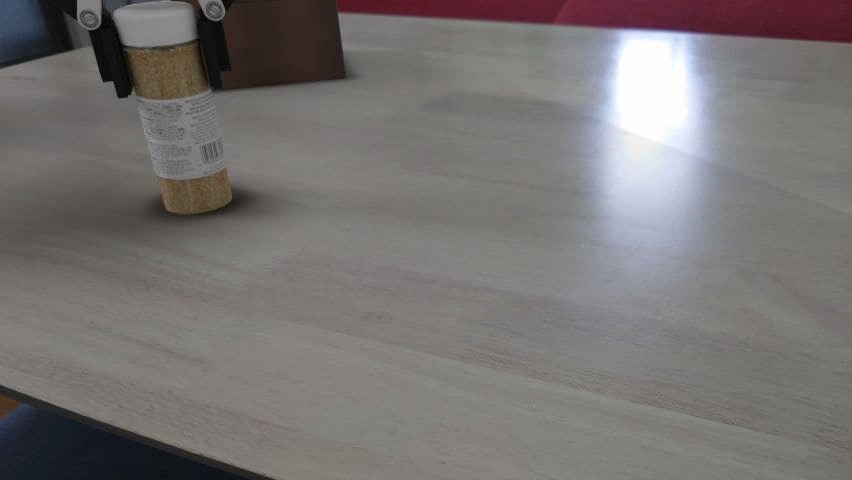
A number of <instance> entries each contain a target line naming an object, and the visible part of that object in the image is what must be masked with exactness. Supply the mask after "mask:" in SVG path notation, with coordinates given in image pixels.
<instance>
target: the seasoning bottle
mask: <svg viewBox="0 0 852 480" xmlns="http://www.w3.org/2000/svg"><path fill="white" fill-rule="evenodd" d="M112 19H113V20H114V23H115V27H116V31H117V35H118V39H119V42H120V43H121V44H123V45H124V51H125V52H126V56H127V60H128V64H129V68H130V72H131V75H132V80H133V84H134V86H133V89H134V93H135V100H136V101H135V102H136V104H137V108H138V112H139V116H140V118H141V125H142V128H143V133H144V136H145V140H146V145H147V147H148V151H149V155H150V158H151V159H150V160H151V162H152V167H153V170H154V173H155V175H156V177H157V180H158V185H159V189H160V192H161V197H162V201H163V204H164V208H165V210H166V211H168V212H170V213H174V214H177V215H178V214H179V215H195V214H203V213H207V212H211V211H215V210H217V209H220V208H223V207H226V205H228V204H230V203H231V202H232V200H233V194H232V189H231V186H230V181H229V176H228V175H229V174H228V170H227V159H226V153H225V148H224V143H223V139H222V134H221V129H220V124H219V119H218V114H217V110H216V106H215V102H214V97H213V91H211V87H210V86H209V84H208V78H207V74H206V71H205V66H204V61H203V57H202V52H201V47H200V43H201V40H200V39H199V38H198V37H199V36H200V35H199V30H198V25H197V22H198V19H197V15H196V11H195V8H194V6H193V5H191V4H189V3H186V2H179V1H161V0H160V1H159V0H158V1H157V0H156V1H147V2H138V3H133V4H128V5H123V6H121V7H118V8H116V9H115V10H114V11H113V13H112Z"/></svg>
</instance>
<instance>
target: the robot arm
mask: <svg viewBox="0 0 852 480" xmlns="http://www.w3.org/2000/svg"><path fill="white" fill-rule="evenodd" d="M47 1H48V2H49V3H50V4H52V5H54V6H55V7H56V8H58V10H60V11H62V12H64V13H65V14H66V15H68V17H71V18H72V19H73V20H75V21H77V22H78V24H79V26H81V28H83V29H85V30H87V32H88V36H89V39H90V43H91V47H92V50H93V53H94V57H95V61H96V64H97V67H98V72H99V76H100V79H101V81H102V83H111V82H112V83H113V87H114V89H115V94H116V97H117V99H127V98H129V96H131V95H132V93H133V89H134V84H133V80H132V75H131V72H130V68H129V64H128V60H127V56H126V52H125V51H124V45H123V44H121V43H120V42H119V39H118V35H117V31H116V27H115V23H114V19H113V16H112V14H111V12H110V11H109V10H108V9H107V0H47ZM198 1H199V3H200V5H199V16H200V17H198V22H197V25H198V30H199V35H200V40H201V45H202V49H203V54H204V59H205V64H206V68H207V73H208V78H209V82H210V87H211V88H212V87H214V89H223V81H222V74H221V72H224V71H232V67H231V62H230V57H229V52H228V46H227V41H226V36H225V31H224V26H223V21H222V18H223V17H224V15H225V13H226V12H227V10H228V9H229V8H230V6H231V5H232V4H233V2H234V1H235V0H198Z"/></svg>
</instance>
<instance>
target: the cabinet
mask: <svg viewBox="0 0 852 480" xmlns="http://www.w3.org/2000/svg"><path fill="white" fill-rule="evenodd" d="M171 1H179V2H186V3H189V4H191V5H193V6H194V8H195V11H196V15H197V19H198V17H200V16H199V5H200V3H199V1H198V0H171ZM222 21H223V26H224V31H225V36H226V41H227V46H228V52H229V57H230V62H231V67H232V71H224V72H221V74H222V81H223V89H214V87H212V88H211V91H212V92H215V91H227V90H235V89H247V88H257V87H259V88H260V87H266V86H267V87H268V86H277V85H278V86H279V85H288V84H299V83H308V82H319V81H330V80H331V81H332V80H342V79H347V73H346V65H345V58H344V57H345V56H344V49H343V43H342V35H341V25H340V17H339V10H338V4H337V0H235V1H234V2H233V4H232V5H231V6H230V8H229V9H228V10H227V12H226V13H225V15H224V17H223V18H222ZM198 38H199V39H200V36H199V37H198ZM200 47H201V52H202V57H203V61H204V66H205V71H206V74H207V78H208V73H207V68H206V64H205V59H204V54H203V49H202V45H201V43H200ZM208 84H209V86H210V82H209V78H208Z"/></svg>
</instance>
